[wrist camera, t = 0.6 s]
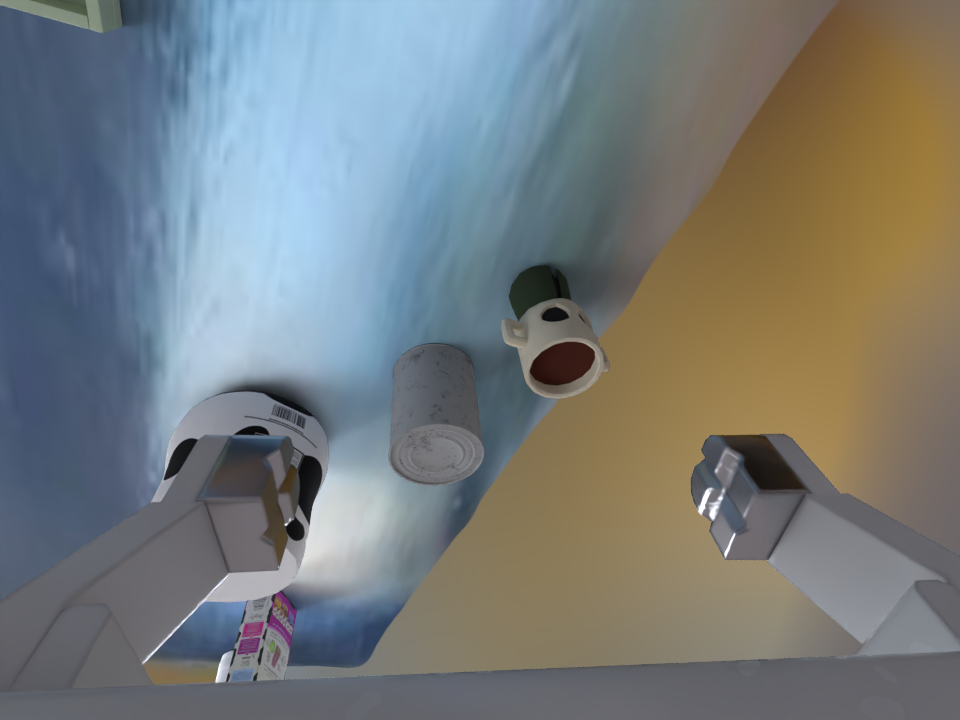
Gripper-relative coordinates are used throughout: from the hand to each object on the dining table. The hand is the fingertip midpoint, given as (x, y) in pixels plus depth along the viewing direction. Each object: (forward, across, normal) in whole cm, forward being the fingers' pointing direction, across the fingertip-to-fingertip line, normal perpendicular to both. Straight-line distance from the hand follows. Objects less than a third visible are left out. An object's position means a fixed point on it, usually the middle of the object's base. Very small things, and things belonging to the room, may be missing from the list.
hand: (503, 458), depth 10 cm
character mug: (+42, -9, +15) cm, 45 cm away
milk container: (+43, +23, +36) cm, 61 cm away
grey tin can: (+43, +2, +27) cm, 51 cm away
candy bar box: (+49, +30, +80) cm, 98 cm away
